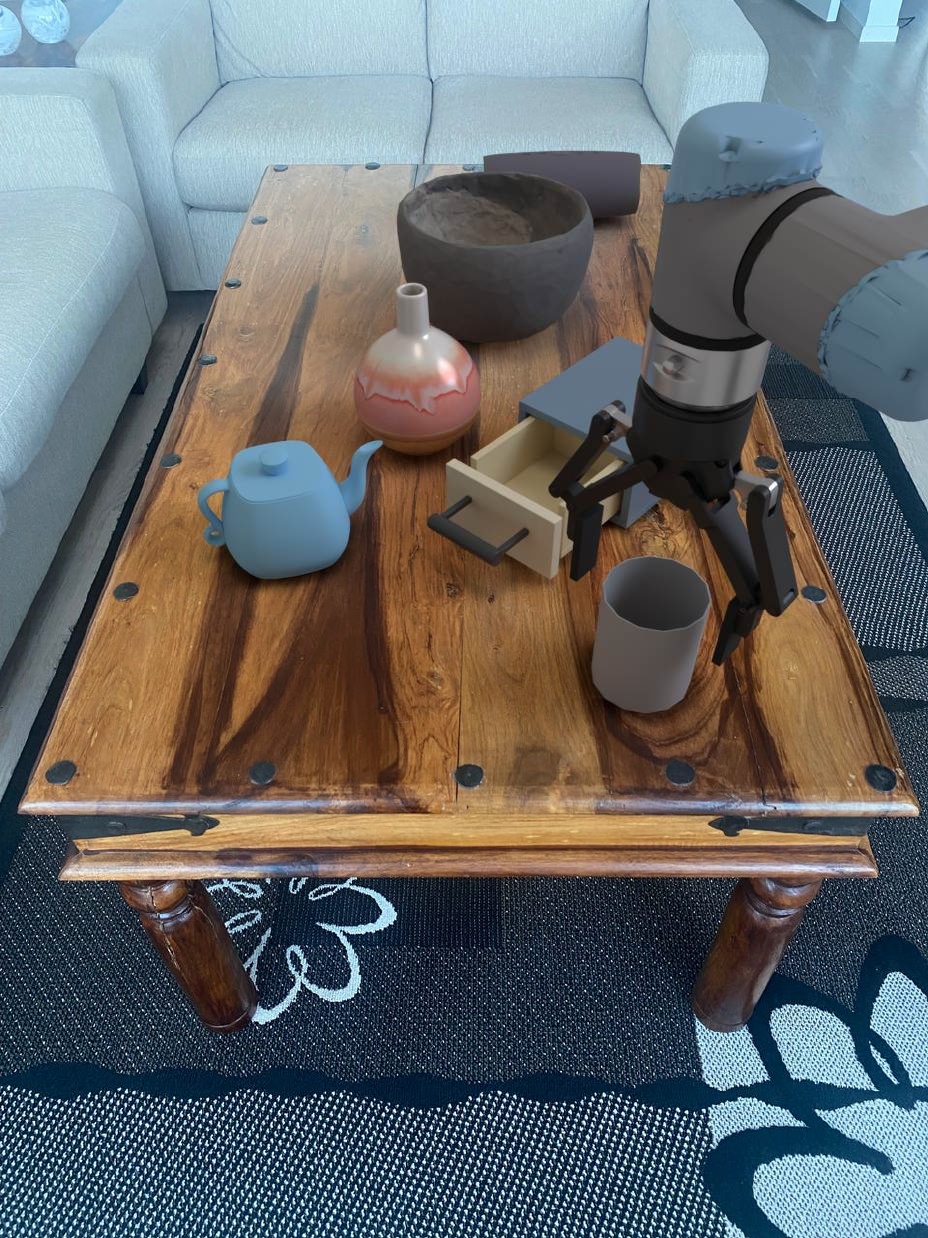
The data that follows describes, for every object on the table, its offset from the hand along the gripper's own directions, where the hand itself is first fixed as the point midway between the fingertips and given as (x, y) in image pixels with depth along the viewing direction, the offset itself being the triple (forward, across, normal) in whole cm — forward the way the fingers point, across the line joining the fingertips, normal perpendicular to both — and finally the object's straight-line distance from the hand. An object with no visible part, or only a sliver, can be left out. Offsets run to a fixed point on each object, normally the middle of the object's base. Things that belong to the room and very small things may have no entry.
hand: (650, 611), depth 74 cm
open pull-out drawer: (+7, -19, +8) cm, 22 cm away
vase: (+8, -38, +12) cm, 40 cm away
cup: (+8, 0, 0) cm, 8 cm away
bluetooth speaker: (+9, -61, +66) cm, 90 cm away
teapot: (+8, -35, -8) cm, 37 cm away
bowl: (+8, -49, +37) cm, 62 cm away
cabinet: (+8, -19, +23) cm, 31 cm away
